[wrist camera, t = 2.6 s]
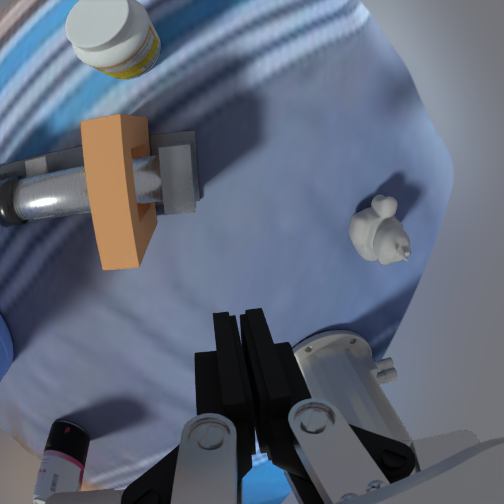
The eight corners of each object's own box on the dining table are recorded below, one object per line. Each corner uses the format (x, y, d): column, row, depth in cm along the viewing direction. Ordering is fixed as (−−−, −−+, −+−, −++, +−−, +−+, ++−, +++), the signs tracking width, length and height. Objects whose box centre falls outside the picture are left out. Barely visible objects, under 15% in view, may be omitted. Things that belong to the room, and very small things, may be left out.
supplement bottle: (165, 71, 22) (146, 42, 13) (105, 88, 22) (58, 73, 13) (157, 17, 20) (137, -31, 11) (97, 34, 19) (53, 0, 11)
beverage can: (97, 435, 37) (84, 517, 24) (79, 446, 38) (65, 520, 25) (62, 414, 35) (40, 497, 21) (46, 426, 36) (26, 500, 22)
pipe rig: (195, 130, 24) (192, 131, 18) (199, 199, 27) (199, 224, 20) (-8, 168, 22) (-51, 184, 15) (2, 225, 24) (-36, 252, 18)
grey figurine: (335, 248, 31) (373, 287, 23) (349, 184, 28) (396, 206, 21) (379, 252, 32) (421, 288, 24) (394, 192, 29) (444, 216, 22)
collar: (147, 117, 22) (120, 114, 14) (157, 222, 26) (139, 267, 18) (119, 121, 22) (80, 121, 14) (130, 225, 26) (103, 270, 18)
